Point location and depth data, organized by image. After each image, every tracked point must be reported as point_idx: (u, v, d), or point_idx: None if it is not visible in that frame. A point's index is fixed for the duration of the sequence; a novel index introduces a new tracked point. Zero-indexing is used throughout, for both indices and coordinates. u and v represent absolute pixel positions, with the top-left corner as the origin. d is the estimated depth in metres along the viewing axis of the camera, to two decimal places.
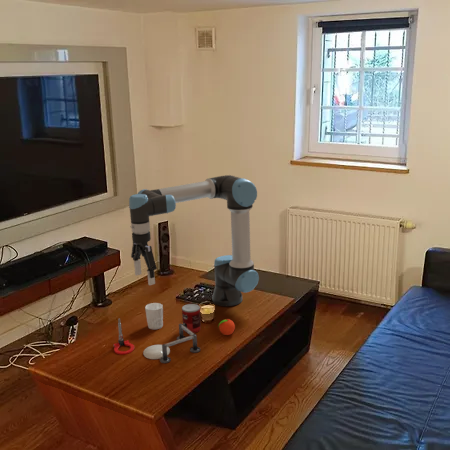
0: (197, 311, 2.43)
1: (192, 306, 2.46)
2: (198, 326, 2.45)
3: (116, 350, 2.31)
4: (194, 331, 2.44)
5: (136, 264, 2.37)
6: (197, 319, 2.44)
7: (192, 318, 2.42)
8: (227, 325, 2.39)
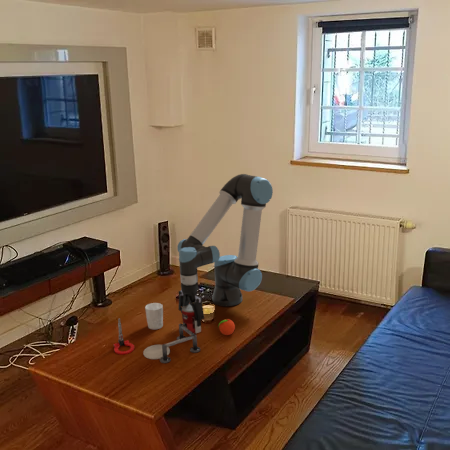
0: None
1: None
2: None
3: (116, 350, 2.31)
4: (194, 331, 2.44)
5: None
6: None
7: (192, 318, 2.42)
8: (227, 325, 2.39)
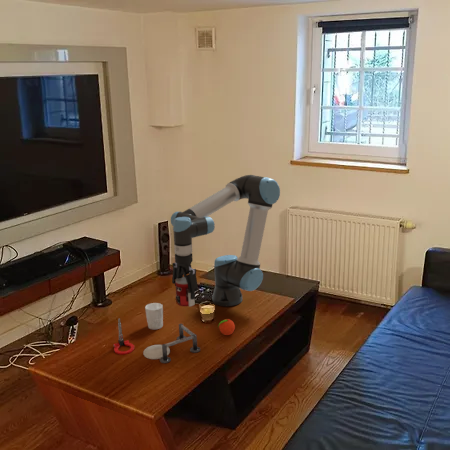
0: None
1: None
2: None
3: (116, 350, 2.31)
4: (187, 304, 2.37)
5: None
6: None
7: (186, 290, 2.35)
8: (227, 325, 2.39)
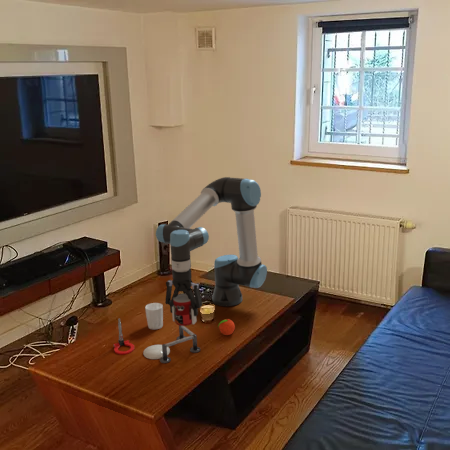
0: None
1: (183, 296, 2.22)
2: None
3: (116, 350, 2.31)
4: (190, 322, 2.21)
5: None
6: None
7: (189, 308, 2.19)
8: (227, 325, 2.39)
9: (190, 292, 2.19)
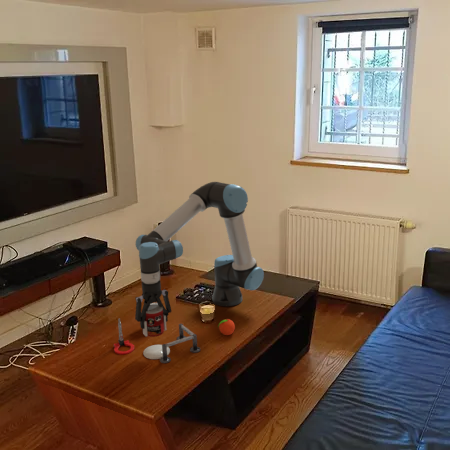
0: None
1: (149, 308, 2.25)
2: None
3: (116, 350, 2.31)
4: None
5: None
6: None
7: None
8: (227, 325, 2.39)
9: None
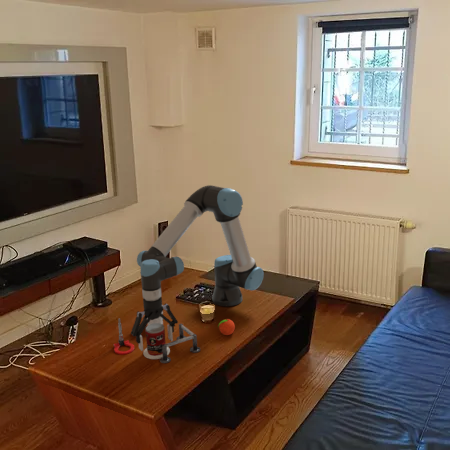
0: None
1: (151, 327, 2.27)
2: None
3: (116, 350, 2.31)
4: None
5: None
6: None
7: (164, 334, 2.27)
8: (227, 325, 2.39)
9: None
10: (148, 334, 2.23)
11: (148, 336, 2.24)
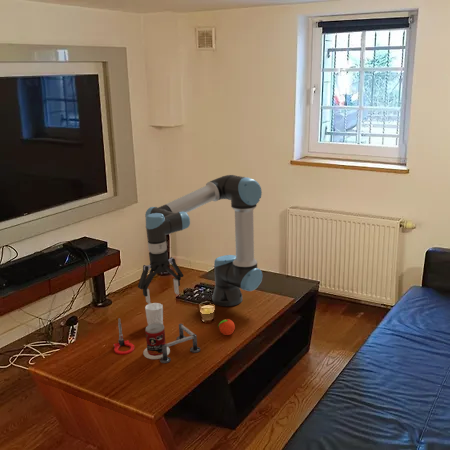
0: None
1: (151, 327, 2.27)
2: None
3: (116, 350, 2.31)
4: None
5: None
6: None
7: (164, 334, 2.27)
8: (227, 325, 2.39)
9: None
10: (148, 334, 2.23)
11: (148, 336, 2.24)
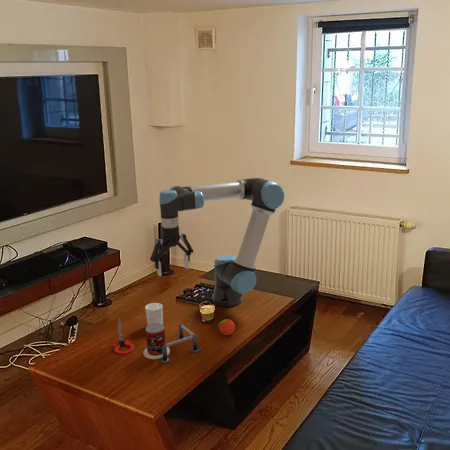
0: None
1: (151, 327, 2.27)
2: None
3: (116, 350, 2.31)
4: None
5: None
6: None
7: (164, 334, 2.27)
8: (227, 325, 2.39)
9: None
10: (148, 334, 2.23)
11: (148, 336, 2.24)
